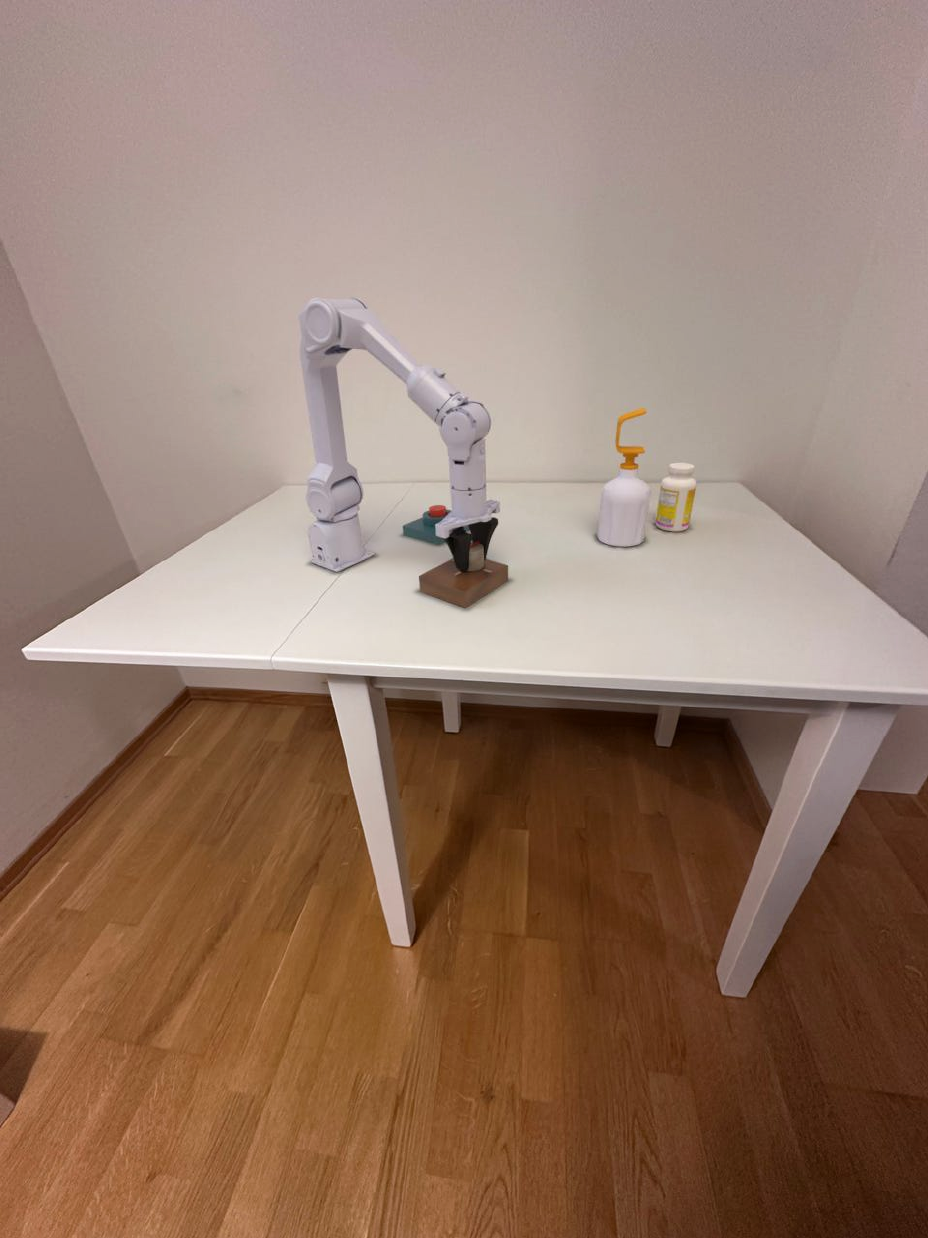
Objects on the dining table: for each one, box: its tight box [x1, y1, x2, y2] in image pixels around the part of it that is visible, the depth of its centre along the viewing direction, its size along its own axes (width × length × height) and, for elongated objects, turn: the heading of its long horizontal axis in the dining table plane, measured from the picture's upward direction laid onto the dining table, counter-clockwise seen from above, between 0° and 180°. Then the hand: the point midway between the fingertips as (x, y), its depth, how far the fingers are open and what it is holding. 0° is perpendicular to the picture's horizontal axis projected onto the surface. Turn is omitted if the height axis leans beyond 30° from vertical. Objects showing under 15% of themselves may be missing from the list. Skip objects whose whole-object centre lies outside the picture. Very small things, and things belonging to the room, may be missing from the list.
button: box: [428, 504, 447, 517], centre depth 109 cm, size 4×4×2 cm
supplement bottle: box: [655, 462, 698, 532], centre depth 104 cm, size 7×7×13 cm
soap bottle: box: [596, 407, 652, 548], centre depth 97 cm, size 9×9×25 cm
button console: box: [402, 508, 470, 546], centre depth 110 cm, size 12×10×4 cm
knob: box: [466, 541, 484, 571], centre depth 87 cm, size 4×4×4 cm
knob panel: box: [418, 556, 509, 609], centre depth 88 cm, size 12×10×3 cm
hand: (471, 563), depth 88 cm, fingers closed on knob, 4 cm apart
